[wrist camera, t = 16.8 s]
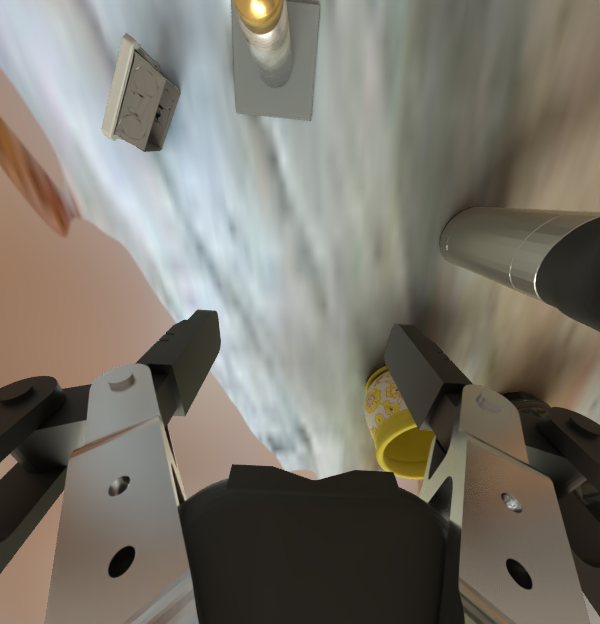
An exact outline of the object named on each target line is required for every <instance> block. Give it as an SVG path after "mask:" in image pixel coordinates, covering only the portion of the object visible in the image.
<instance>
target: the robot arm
mask: <svg viewBox="0 0 600 624" xmlns="http://www.w3.org/2000/svg"><path fill="white" fill-rule="evenodd" d="M440 251H441V253H442V255H443V257H444V258H445V259H446V260H447V261H449V262H451V263H453V264H456V265H458V266H460V267H463V268H465V269H467V270H469V271H472V272H474V273H476V274H479V275H481V276H483V277H486V278H488V279H490V280H493V281H495V282H497V283H500V284H502V285H505V286H507V287H509V288H512V289H514V290H516V291H519V292H521V293H523V294H526V295H528V296H531V297H533V298H535V299H538V300H540V301H542V302H545V303H547V304H549V305H551V306H554V307H556V308H558V309H559V310H560V311H561V312H562V313H564V314H565V315H567V316H568V317H570V318H572V319H574V320H576V321H578V322H580V323H582V324H585V325H587V326H589V327H591V328H593V329H595V330H597V331H599V332H600V212H580V211H559V210H538V209H517V208H498V207H472V208H469V209H466V210H464V211H462V212H460V213H459V214H457V215H456V216H455V217H453V218H452V220H451V221H450V222H449V223H448V224H447V226H446V227H445V229H444V231H443V233H442V235H441V239H440ZM220 345H221V339H220V330H219V321H218V314H217V312H216V311H211V310H197V311H196V312H195V313H194V314H193V315H192V316H191V317H190V318H189V319H188V320H183V321H181V322H179V323H177V324H175V325H173V326H172V327H171V328H170V329H169V330H168V331H167V332H166V335H163V336H162V337H161V338H160V339H159V341H157V343H155V344H154V345H153V346H152V347H151V348H150V349H149V350H148V351H147V352H146V353H145V354H144V355H143V356H142V357H141V358H140V359H139V360H138V361H137V362H136V363H135V364H127V365H123V366H119V367H116V368H114V369H111V370H109V371H107V372H106V373H104V374H102V375H101V376H100V377H98V378H97V379H96V380H95V381H94V382H93V384H90V385H84V386H78V387H71V388H65V389H62V388H61V387H60V385H59V384H58V382H57V380H56V379H55V378H53V377H50V376H38V377H31V378H27V379H23V380H20V381H17V382H14V383H12V384H9V385H7V386H4V387H2V388H0V462H1V461H2V460H3V459H4V458H6V456H8V455H9V454H11V455H12V456H13V457H14V458H15V459H16V460H17V461H18V463H17V464H16V465H15V466H14V467H13V468H12V469H11V470H10V471H9V472H8V473H7V474H6V475H5V476H4V477H3V478H2V479H1V480H0V573H1V572H2V571H3V569H4V568H5V567H6V565H7V564H8V563H9V562H10V560H11V559H12V558H13V556H14V555H15V554H16V552H17V551H18V550H19V548H20V547H21V546H22V544H23V543H24V542H25V540H26V539H27V538H28V536H29V535H30V534H31V532H32V531H33V530H34V529H35V527H36V526H37V525H38V523H39V522H40V521H41V519H42V518H43V517H44V515H45V514H46V513H47V511H48V510H49V509H50V507H51V506H52V504H53V503H54V502H55V501H56V500H57V498H58V497H59V495H60V494H61V493H62V492H63V490H64V495H63V501H62V508H61V515H60V522H59V529H58V535H57V542H56V549H55V556H54V563H53V569H52V576H51V584H50V590H49V597H48V603H47V610H46V617H45V624H591V623H590V620H589V616H588V612H587V609H586V605H585V601H584V597H583V594H582V591H583V593H584V594H585V596H586V597H587V598H588V600H589V602H590V603H591V604H592V606H593V607H594V609H595V610H596V612H597V613H598V615H599V616H600V523H599V522H598V521H597V520H596V519H595V517H594V516H593V515H592V514H591V513H590V512H589V511H588V509H587V508H586V507H585V506H584V505H583V504H582V503H581V501H580V500H579V499H578V498H577V497H576V496H575V495H574V493H573V492H572V491H573V490H574V489H575V488H577V487H578V486H579V485H580V484H582V483H583V482H584V481H586V480H588V481H589V482H590V483H591V484H592V485H593V486H594V487H595V488H596V489H597V490H598V491H599V492H600V425H599V424H597V423H596V422H594V421H592V420H591V419H589V418H587V417H585V416H583V415H581V414H579V413H576V412H574V411H571V410H568V409H564V408H560V407H552V408H550V409H549V410H548V411H547V412H546V413H545V414H544V415H543V416H542V417H538V416H534V415H531V414H528V413H524V412H521V411H518V410H517V409H516V407H515V406H514V405H513V404H512V403H511V402H510V401H509V400H508V399H506V398H505V397H504V396H502V395H501V394H499V393H497V392H495V391H494V390H491V389H489V388H487V387H484V386H481V385H475V384H472V383H471V382H470V380H469V379H468V378H467V377H466V376H465V375H464V374H463V373H462V372H461V371H460V370H459V369H458V367H457V366H456V365H455V364H454V363H453V362H452V361H450V359H449V358H448V357H447V356H446V355H445V354H443V351H442V350H441V349H440V348H439V347H438V346H437V345H436V344H435V343H433V342H432V341H430V340H429V339H427V338H426V337H424V336H423V335H422V334H421V333H420V331H419V330H418V329H417V328H416V327H415V326H414V325H403V324H395V325H394V326H393V328H392V331H391V334H390V337H389V340H388V343H387V346H386V349H385V353H384V361H385V364H386V367H387V368H388V370H389V372H390V374H391V376H392V378H393V380H394V382H395V384H396V386H397V388H398V390H399V392H400V394H401V396H402V398H403V400H404V402H405V404H406V406H407V408H408V410H409V412H410V414H411V416H412V418H413V420H414V421H415V423H416V425H417V427H418V429H419V430H430V431H433V432H434V434H435V436H434V438H433V440H432V443H431V448H430V452H429V457H428V461H427V466H426V471H425V475H424V480H423V484H422V488H421V491H420V493H419V496H418V497H417V496H416V495H414V494H412V493H410V492H408V491H406V490H404V489H402V488H399V487H398V484H397V481H396V478H395V475H394V472H382V471H361V470H353V471H350V472H346V473H342V474H339V475H335V476H331V477H328V478H324V479H320V480H310V479H307V478H304V477H301V476H298V475H296V474H293V473H290V472H287V471H284V470H282V469H279V468H276V467H273V466H254V465H232V467H231V471H230V475H229V479H225V480H221V481H219V482H216V483H214V484H211V485H210V486H207V487H206V488H204V489H202V490H200V491H199V492H197V493H196V494H194V495H193V496H191V497H190V498H188V499H186V495H185V492H184V488H183V484H182V481H181V477H180V473H179V469H178V465H177V461H176V456H175V452H174V448H173V444H172V440H171V436H170V431H169V427H168V423H169V421H170V419H171V418H172V416H186V414H187V412H188V410H189V408H190V406H191V404H192V402H193V400H194V399H195V397H196V395H197V393H198V391H199V389H200V387H201V385H202V384H203V382H204V380H205V378H206V376H207V374H208V372H209V370H210V368H211V367H212V365H213V363H214V361H215V359H216V357H217V355H218V353H219V350H220Z"/></svg>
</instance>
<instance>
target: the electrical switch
mask: <svg viewBox="0 0 600 624" xmlns="http://www.w3.org/2000/svg"><path fill="white" fill-rule="evenodd" d="M166 89H167V90H166ZM179 96H180V92H179V90H178V89H177V88H176V87H175V86H174V85H173V84H172V83H171V82H170V81H169V80H168V79H167V78H166V77H165V76H164V75H163V74H161V73H160V65H159V64H158V63H157V62H155V61H154V60H153V59H152V58H151V57H150V56H149V55H148V54H147V53H146V52H145V51H144V50H143V49H142V48H141V47H140V44H139V43H138V42H137V41H136V40H135V39H134V38H132V37H131V36H130V35H128V34H127V33H126V34H125V35H124V36H123V38H122V42H121V47H120V51H119V55H118V60H117V64H116V68H115V73H114V77H113V81H112V86H111V90H110V94H109V99H108V103H107V107H106V112H105V116H104V120H103V125H102V133H103V134H104V135H105V136H107V137H108V138H109V139H111V140H113V141H115V140H116V139H123V140H125V141H127V142H129V143H131V144H133V145H135V146H136V147H138V148H139V149H141V150H142V151H144V152H146V151H161V149H162V146H163V143H164V140H165V138H166V135H167V132H168V129H169V126H170V123H171V120H172V117H173V114H174V111H175V108H176V105H177V102H178V99H179ZM159 105H160V106H161V107H162V108H163V109H162V108H161V107H160V106H159ZM169 108H170V110H168V109H169ZM157 109H158V110H159V111H160V114H161V115H160V117H157V116H155V115H156V112H157ZM154 119H155V120H157V121H158V122H159V123H160V124H159V123H158V122H157V121H155V120H154ZM163 132H164V133H163ZM155 146H156V147H155ZM158 148H159V149H158Z"/></svg>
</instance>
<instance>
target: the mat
mask: <svg viewBox="0 0 600 624" xmlns="http://www.w3.org/2000/svg"><path fill="white" fill-rule="evenodd" d="M231 7H232V30H233V52H234V75H235V98H236V112H237V113H239V114H249V115H259V116H269V117H279V118H288V119H298V120H308V121H311V112H312V99H313V87H314V74H315V61H316V49H317V36H318V23H319V11H320V5H316V4H308V3H299V2H291V1H287V11H288V21H289V31H290V40H291V50H292V60H293V67H292V73H291V76H290V78H289V80H288V81H287V83H286V84H285V85H283V86H282V87H279V88H272V87H269V86H268V85H266V84H265V83H264V82H263V80H262V79H261V77H260V75H259V72H258V69H257V67H256V64H255V62H254V59H253V57H252V54H251V51H250V49H249V46H248V44H247V41H246V38H245V36H244V33H243V31H242V28H241V26H240V23H239V20H238V18H237V15H236V12H235V8H234V4H233V0H231Z"/></svg>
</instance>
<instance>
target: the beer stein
mask: <svg viewBox="0 0 600 624" xmlns="http://www.w3.org/2000/svg"><path fill="white" fill-rule="evenodd" d="M502 396H504V397H505V398H506V399H508V400H509V401H510V402H511V403H512V404H513V405H514V406H515V407H516V409H517V410H518V411H521V412H524V413H528V414H531V415H534V416H538V417H542V416H543V415H544V414H545V413H546V412H547V411H548V410H549V409H550V408H551V407H550V406H549V405H548V404H546V403H545V402H543V401H541V400H539V399H537V398H536V397H535V396H533V395H532V394H528V393H523V392H514V393H507V394H504V395H502ZM572 492H573V493H574V495H575V496H576V497H577V498H578V499H579V500H580V501H581V503H582V504H583V505H584V506H585V507H586V508H587V509H588V511H589V512H590V513H591V514H592V515H593V516H594V517H595V519H596V520H597V521H598V522H599V523H600V492H599V491H598V490H597V489H596V488H595V487H594V486H593V485H592V484H591V483H590V482H589V481H588V480H586V481H584V482H583V483H582V484H580V485H579V486H578V487H577V488H575V489H574V490H573V491H572Z"/></svg>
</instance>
